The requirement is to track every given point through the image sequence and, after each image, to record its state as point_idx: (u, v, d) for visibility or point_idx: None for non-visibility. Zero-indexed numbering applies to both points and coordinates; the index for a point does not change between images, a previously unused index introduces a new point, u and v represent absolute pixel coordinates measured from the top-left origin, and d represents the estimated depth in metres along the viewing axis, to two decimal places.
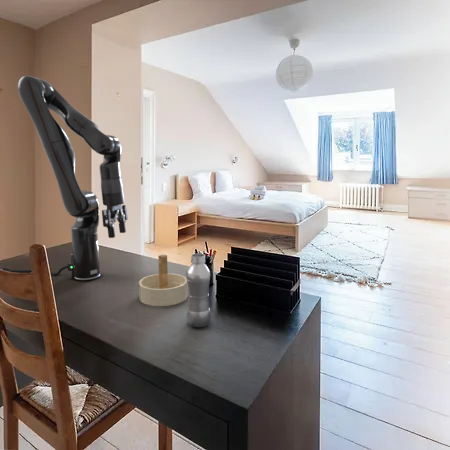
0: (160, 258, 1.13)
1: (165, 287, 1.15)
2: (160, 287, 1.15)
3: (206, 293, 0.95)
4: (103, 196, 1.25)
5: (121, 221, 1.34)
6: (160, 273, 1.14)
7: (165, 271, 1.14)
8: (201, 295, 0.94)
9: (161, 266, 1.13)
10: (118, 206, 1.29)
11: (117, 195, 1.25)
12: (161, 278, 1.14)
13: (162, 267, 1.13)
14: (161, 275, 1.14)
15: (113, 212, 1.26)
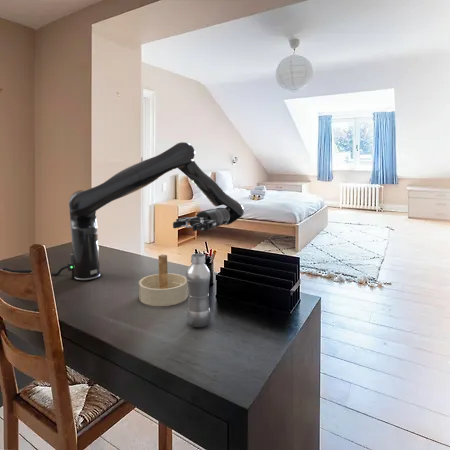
0: (160, 258, 1.13)
1: (165, 287, 1.15)
2: (160, 287, 1.15)
3: (206, 293, 0.95)
4: (214, 215, 1.31)
5: (181, 223, 1.27)
6: (160, 273, 1.14)
7: (165, 271, 1.14)
8: (201, 295, 0.94)
9: (161, 266, 1.13)
10: None
11: (212, 228, 1.33)
12: (161, 278, 1.14)
13: (162, 267, 1.13)
14: (161, 275, 1.14)
15: None
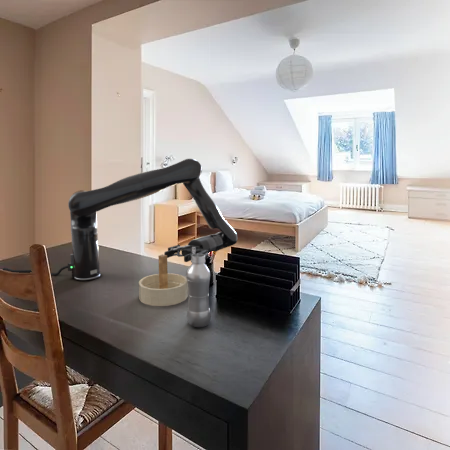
0: (160, 258, 1.13)
1: (165, 287, 1.15)
2: (160, 287, 1.15)
3: (206, 293, 0.95)
4: (207, 243, 1.29)
5: (173, 252, 1.25)
6: (160, 273, 1.14)
7: (165, 271, 1.14)
8: (201, 295, 0.94)
9: (161, 266, 1.13)
10: None
11: None
12: (161, 278, 1.14)
13: (162, 267, 1.13)
14: (161, 275, 1.14)
15: None
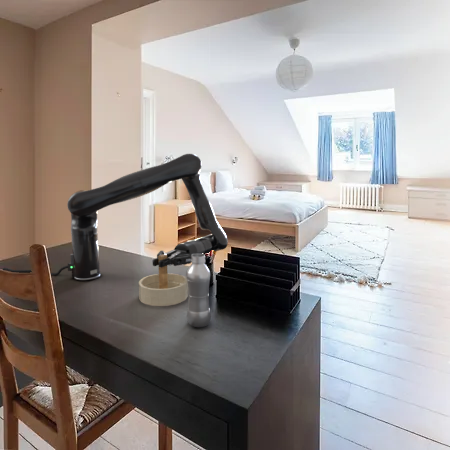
0: (160, 258, 1.13)
1: (165, 287, 1.15)
2: (160, 287, 1.15)
3: (206, 293, 0.95)
4: (194, 248, 1.23)
5: None
6: (160, 273, 1.14)
7: (165, 271, 1.14)
8: (201, 295, 0.94)
9: None
10: None
11: None
12: (161, 278, 1.14)
13: (162, 267, 1.13)
14: (161, 275, 1.14)
15: None
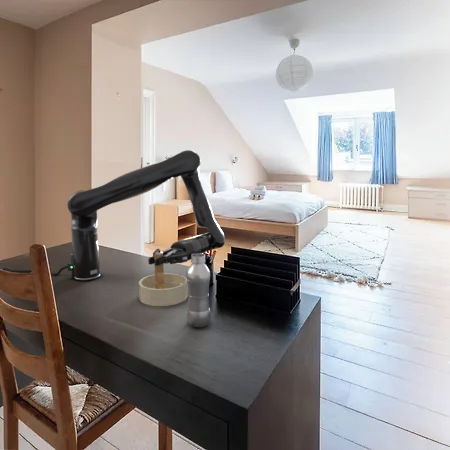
0: (156, 256, 1.11)
1: (161, 286, 1.13)
2: (156, 286, 1.13)
3: (206, 293, 0.95)
4: (190, 246, 1.21)
5: None
6: (156, 271, 1.12)
7: (161, 269, 1.12)
8: (201, 295, 0.94)
9: None
10: None
11: (189, 259, 1.23)
12: (157, 276, 1.12)
13: (158, 266, 1.12)
14: (157, 273, 1.12)
15: None
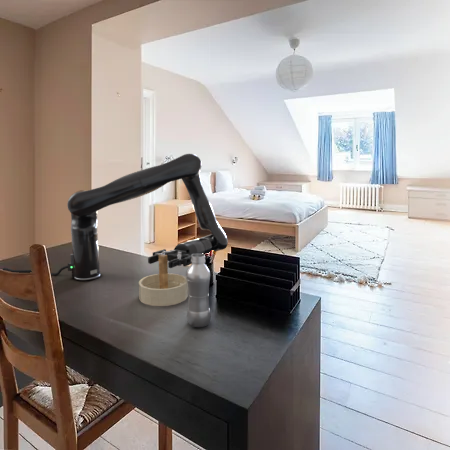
0: (160, 258, 1.13)
1: (165, 287, 1.15)
2: (160, 287, 1.15)
3: (206, 293, 0.95)
4: (194, 248, 1.23)
5: (158, 257, 1.18)
6: (160, 273, 1.14)
7: (165, 271, 1.14)
8: (201, 295, 0.94)
9: (161, 266, 1.13)
10: None
11: None
12: (162, 277, 1.14)
13: (162, 267, 1.13)
14: (161, 275, 1.14)
15: None
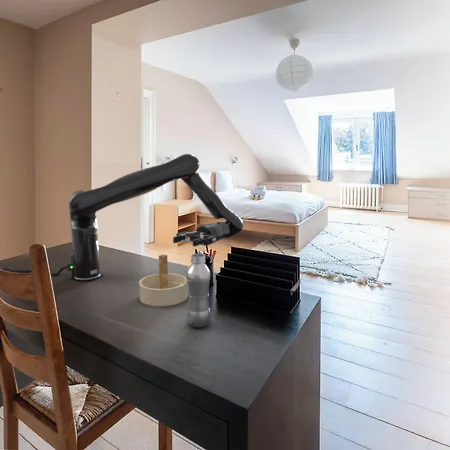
0: (160, 258, 1.13)
1: (165, 287, 1.15)
2: (160, 287, 1.15)
3: (206, 293, 0.95)
4: (214, 230, 1.33)
5: (181, 238, 1.28)
6: (160, 273, 1.14)
7: (165, 271, 1.14)
8: (201, 295, 0.94)
9: (161, 266, 1.13)
10: None
11: None
12: (162, 277, 1.14)
13: (162, 267, 1.13)
14: (161, 275, 1.14)
15: None
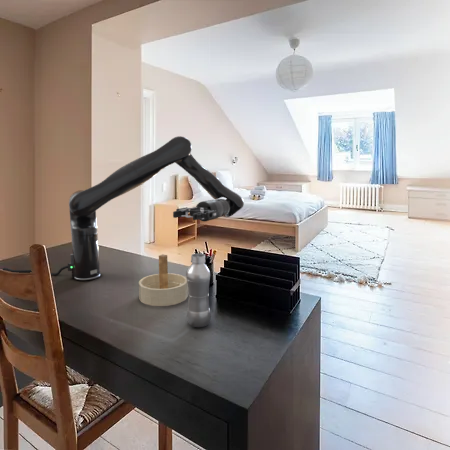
0: (160, 258, 1.13)
1: (165, 287, 1.15)
2: (160, 287, 1.15)
3: (206, 293, 0.95)
4: (214, 205, 1.31)
5: (182, 213, 1.26)
6: (160, 273, 1.14)
7: (165, 271, 1.14)
8: (201, 295, 0.94)
9: (161, 266, 1.13)
10: None
11: (212, 218, 1.32)
12: (162, 277, 1.14)
13: (162, 267, 1.13)
14: (161, 275, 1.14)
15: None
